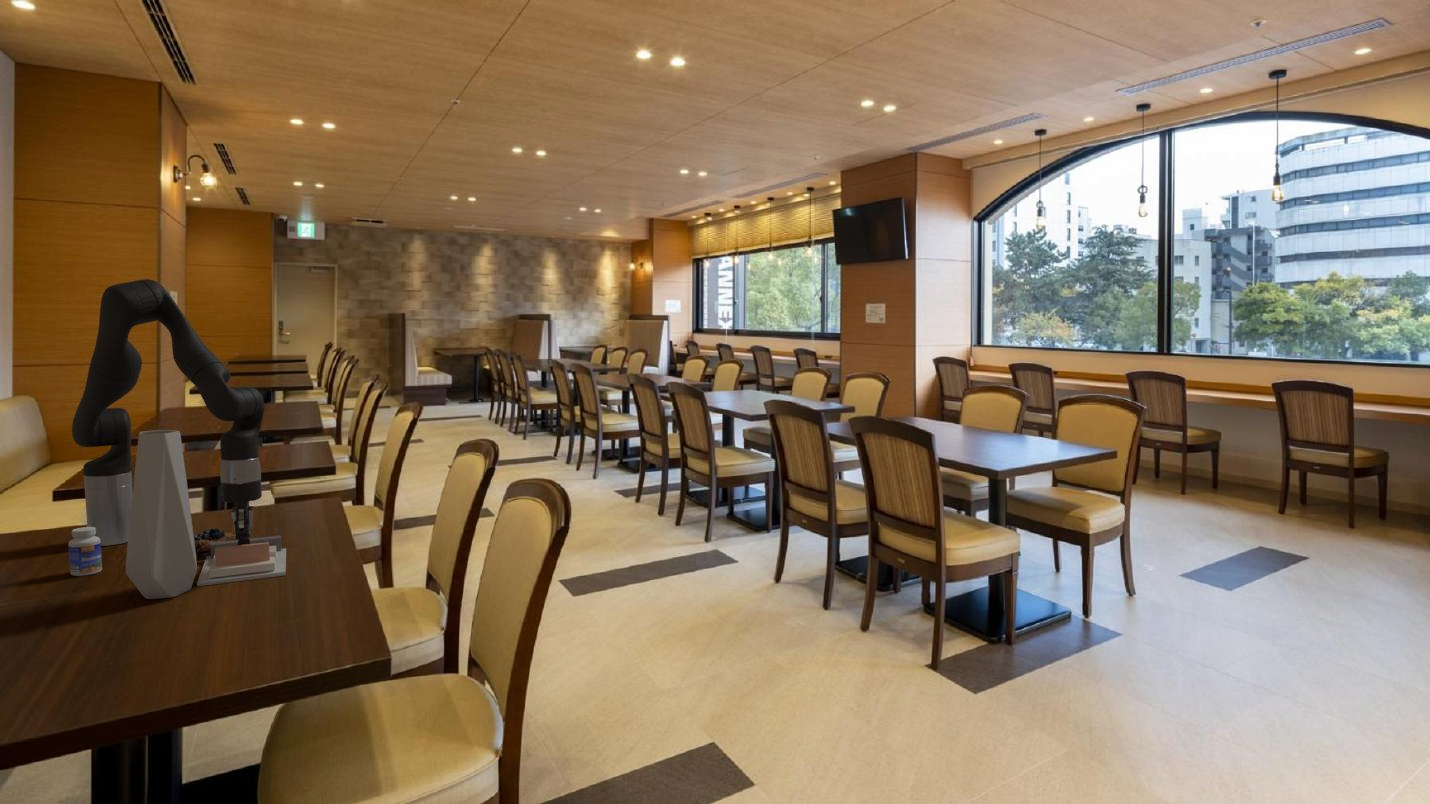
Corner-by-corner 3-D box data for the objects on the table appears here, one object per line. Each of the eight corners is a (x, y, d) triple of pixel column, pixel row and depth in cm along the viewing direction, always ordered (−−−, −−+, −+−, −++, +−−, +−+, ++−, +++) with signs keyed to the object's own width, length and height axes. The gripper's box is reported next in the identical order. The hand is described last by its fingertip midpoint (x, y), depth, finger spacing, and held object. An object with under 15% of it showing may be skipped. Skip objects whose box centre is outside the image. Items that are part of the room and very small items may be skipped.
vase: (218, 587, 158) (210, 429, 155) (162, 605, 147) (152, 437, 144) (176, 579, 162) (168, 426, 159) (118, 597, 151) (108, 433, 148)
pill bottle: (84, 577, 163) (81, 533, 162) (63, 575, 164) (60, 531, 163) (108, 569, 168) (106, 526, 167) (88, 567, 169) (86, 524, 169)
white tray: (206, 559, 176) (206, 543, 176) (286, 551, 184) (285, 534, 184) (197, 586, 159) (196, 567, 158) (285, 575, 166) (284, 557, 166)
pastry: (167, 556, 179) (165, 532, 179) (218, 544, 190) (217, 521, 189) (196, 563, 175) (195, 538, 174) (247, 549, 185) (246, 526, 185)
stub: (211, 571, 165) (210, 546, 164) (275, 563, 171) (274, 540, 170) (209, 577, 161) (207, 552, 160) (274, 570, 166) (273, 545, 166)
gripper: (222, 474, 171) (226, 550, 173) (218, 485, 159) (222, 566, 161) (261, 471, 175) (265, 545, 176) (259, 482, 163) (263, 561, 165)
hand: (244, 555), depth 169 cm, fingers closed
